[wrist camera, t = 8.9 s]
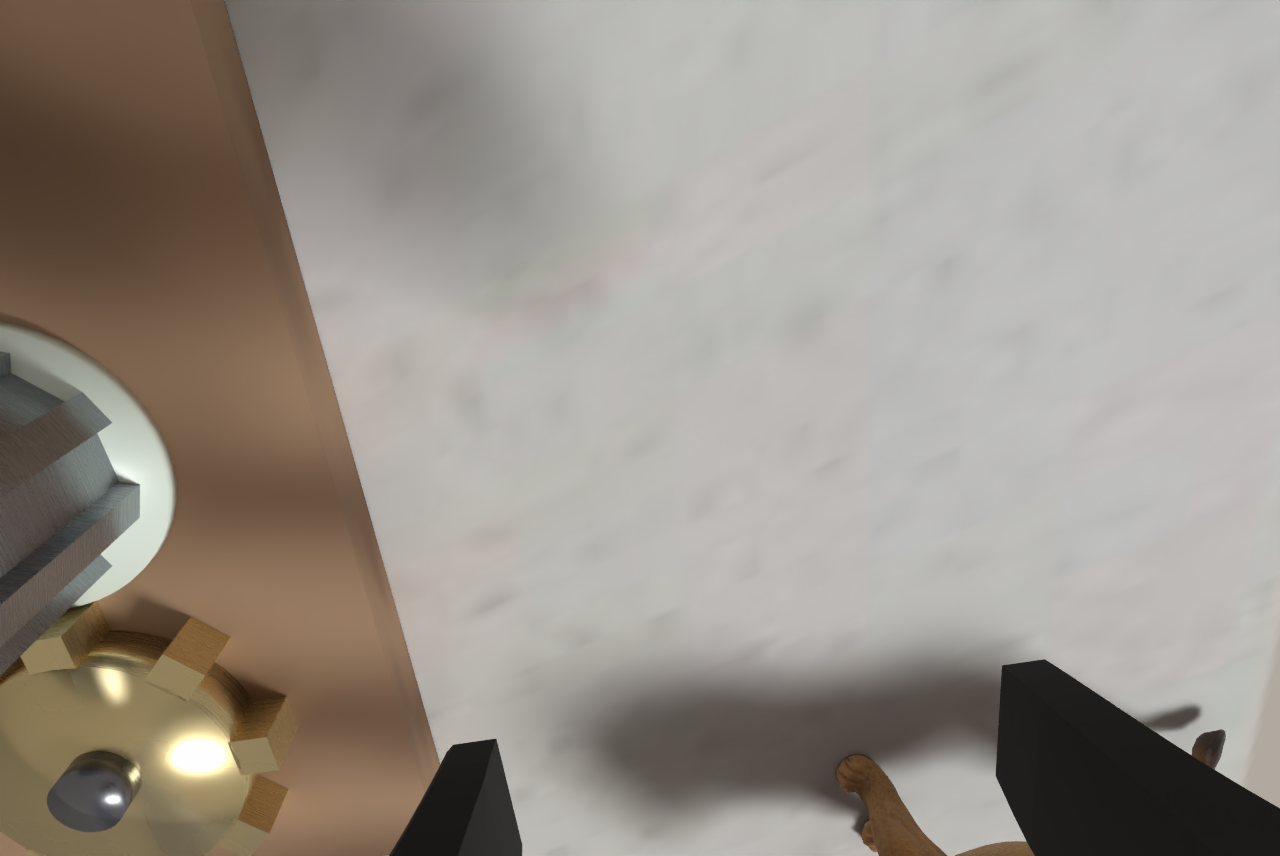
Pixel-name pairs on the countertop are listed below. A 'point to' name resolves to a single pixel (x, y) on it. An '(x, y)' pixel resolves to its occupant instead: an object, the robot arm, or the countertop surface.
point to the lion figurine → (901, 838)
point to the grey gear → (52, 507)
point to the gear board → (189, 470)
